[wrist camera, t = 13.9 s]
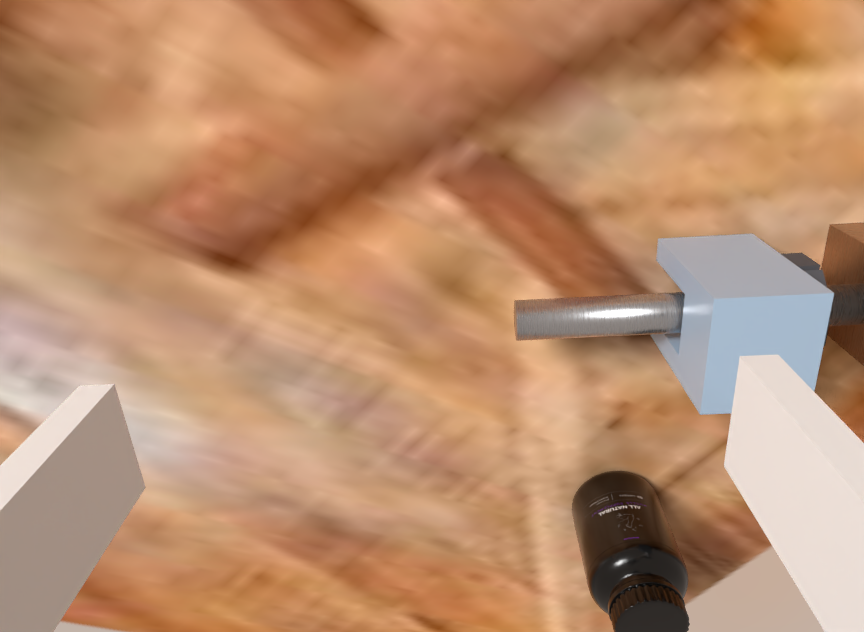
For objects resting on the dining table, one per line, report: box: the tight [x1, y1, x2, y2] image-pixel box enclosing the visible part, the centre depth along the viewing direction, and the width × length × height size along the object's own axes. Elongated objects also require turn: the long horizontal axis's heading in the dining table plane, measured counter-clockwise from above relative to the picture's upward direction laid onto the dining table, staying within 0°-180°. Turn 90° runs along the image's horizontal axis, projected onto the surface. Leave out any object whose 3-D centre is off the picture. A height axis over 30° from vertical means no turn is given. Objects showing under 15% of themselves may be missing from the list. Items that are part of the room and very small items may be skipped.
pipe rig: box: [514, 223, 864, 366], centre depth 42 cm, size 25×7×7 cm, turn 94°
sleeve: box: [650, 234, 834, 415], centre depth 40 cm, size 6×7×10 cm
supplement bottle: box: [572, 471, 689, 632], centre depth 48 cm, size 7×7×12 cm
